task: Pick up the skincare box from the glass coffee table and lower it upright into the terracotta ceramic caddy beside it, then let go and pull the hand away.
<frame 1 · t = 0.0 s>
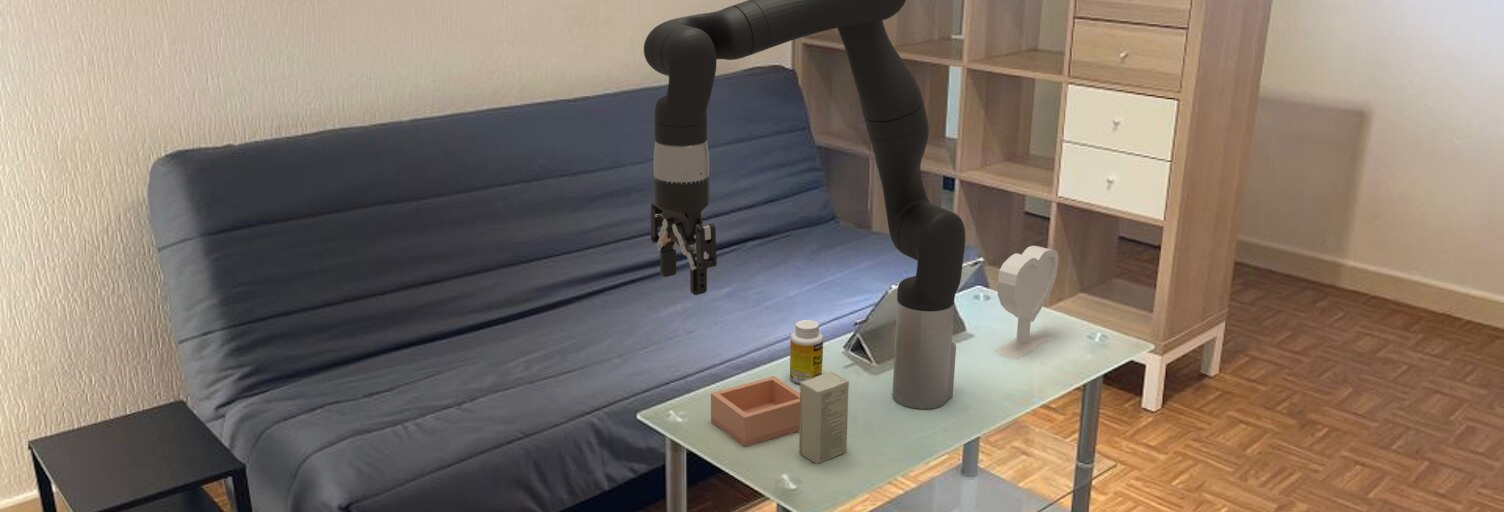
hand: (683, 284, 174), 29 cm above the table, fingers open, 8 cm apart
skincare box: (822, 454, 188), on the table
heart sculpture: (1022, 346, 227), on the table
caddy: (759, 424, 197), on the table
supplement bottle: (805, 380, 213), on the table
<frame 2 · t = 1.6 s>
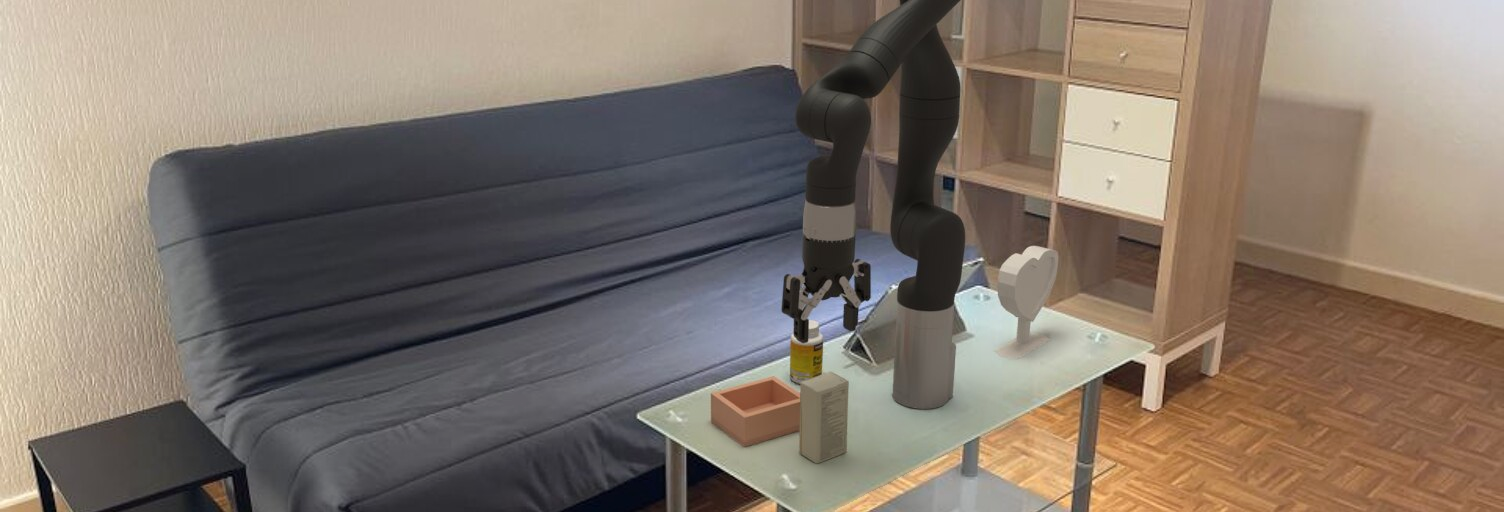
hand: (825, 335, 182), 19 cm above the table, fingers open, 8 cm apart
nothing on the table moved.
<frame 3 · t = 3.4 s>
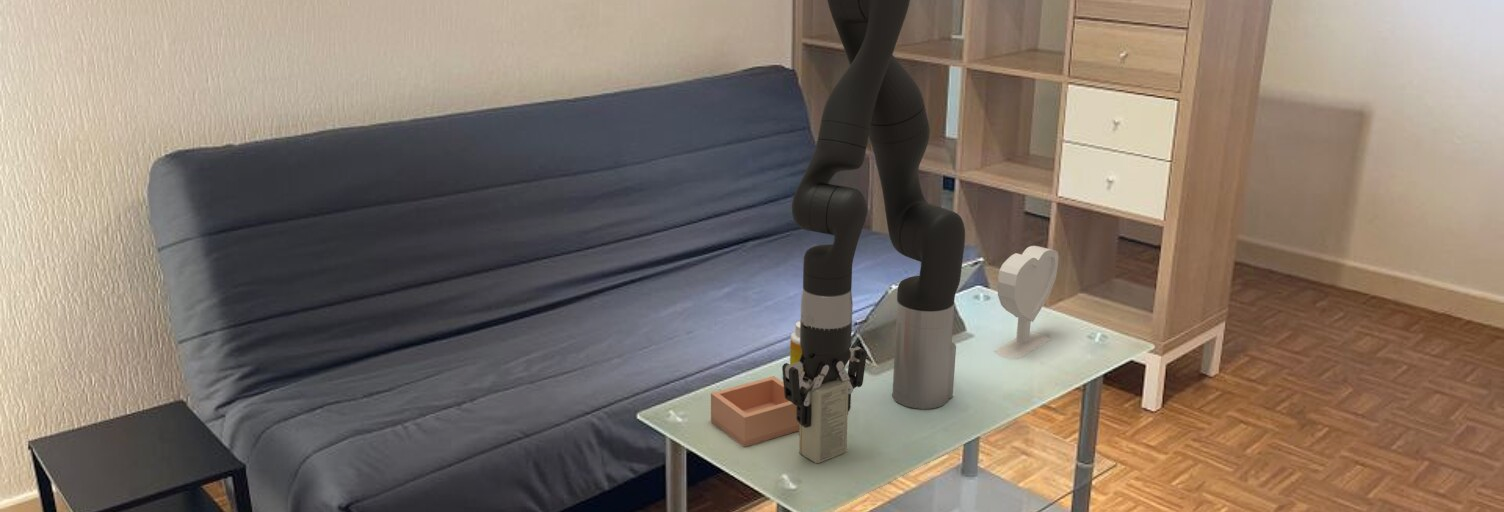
hand: (823, 419, 186), 6 cm above the table, fingers closed on skincare box, 6 cm apart
skincare box: (822, 454, 188), on the table, touching gripper
everything else where it was.
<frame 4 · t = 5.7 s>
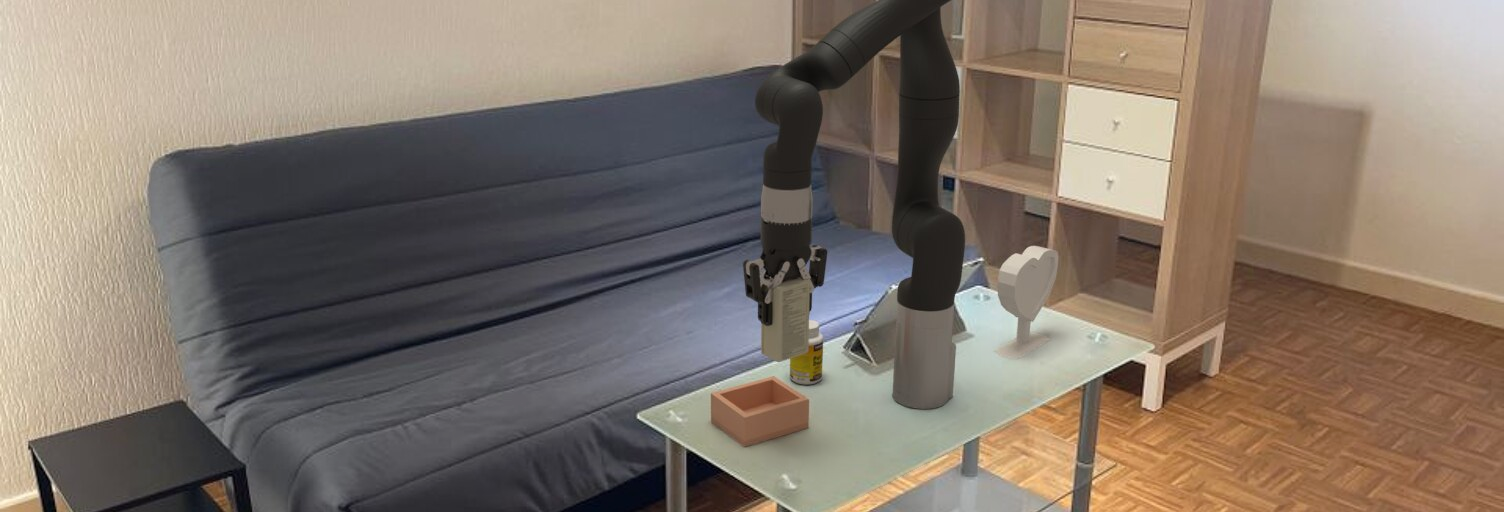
hand: (784, 318, 187), 20 cm above the table, fingers closed on skincare box, 6 cm apart
skincare box: (784, 355, 189), point 14 cm above the table, touching gripper
everything else where it was.
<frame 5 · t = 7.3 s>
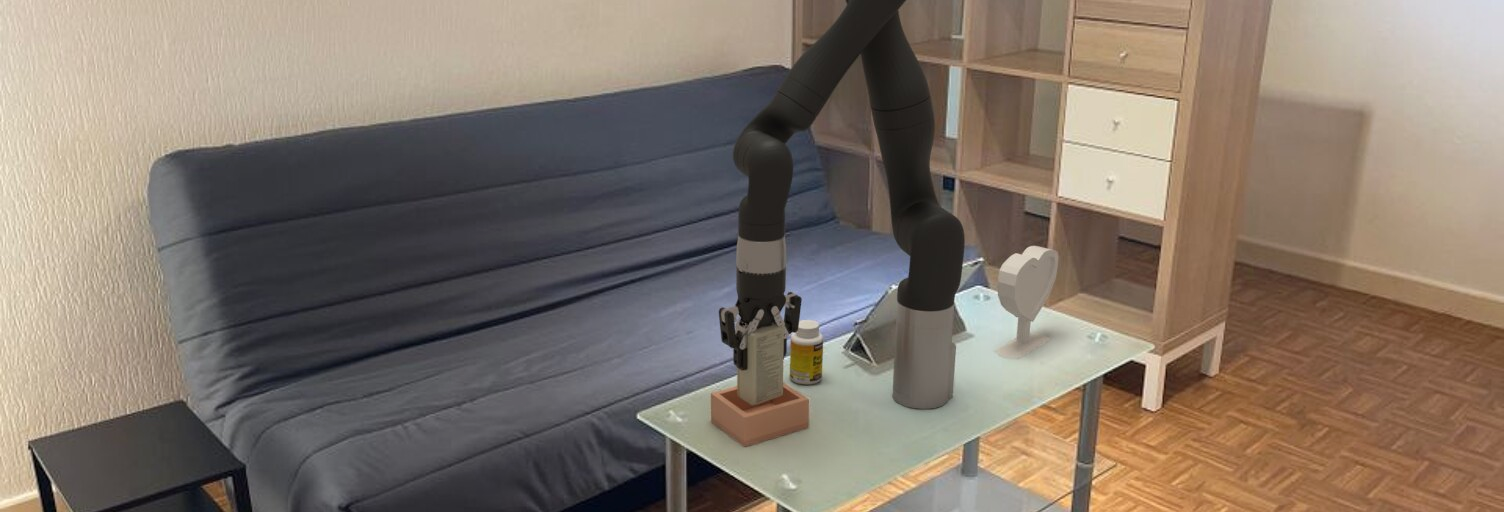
hand: (759, 363, 194), 11 cm above the table, fingers closed on skincare box, 6 cm apart
skincare box: (759, 397, 196), point 5 cm above the table, touching gripper
everything else where it was.
when the fingers open (8 cm above the table, at t = 8.3 s): skincare box drops 1 cm, resting on caddy.
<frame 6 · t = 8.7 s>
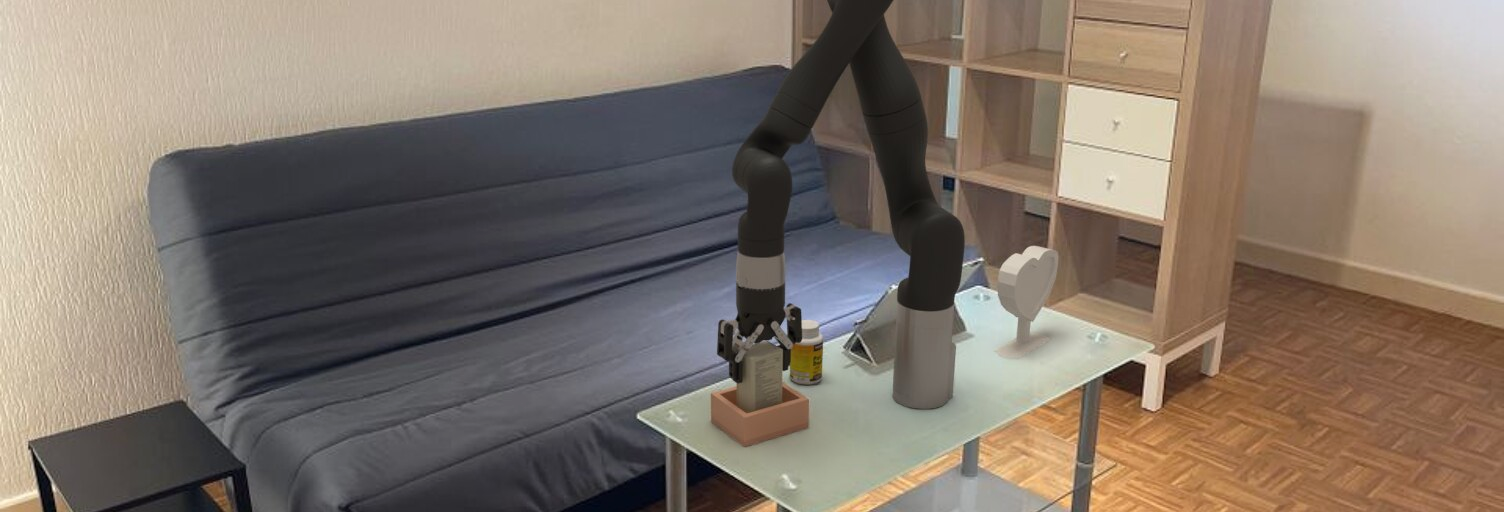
hand: (759, 375, 194), 9 cm above the table, fingers open, 8 cm apart
skincare box: (759, 420, 197), point 1 cm above the table, touching caddy
everything else where it was.
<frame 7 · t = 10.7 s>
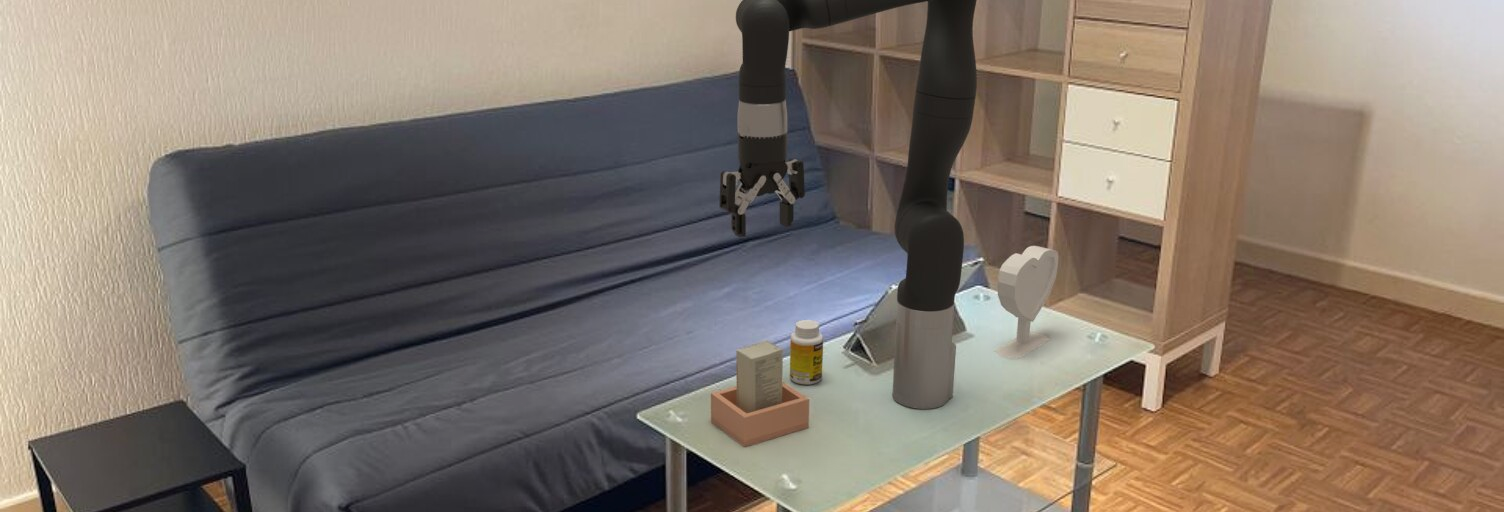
hand: (762, 230, 193), 30 cm above the table, fingers open, 8 cm apart
nothing on the table moved.
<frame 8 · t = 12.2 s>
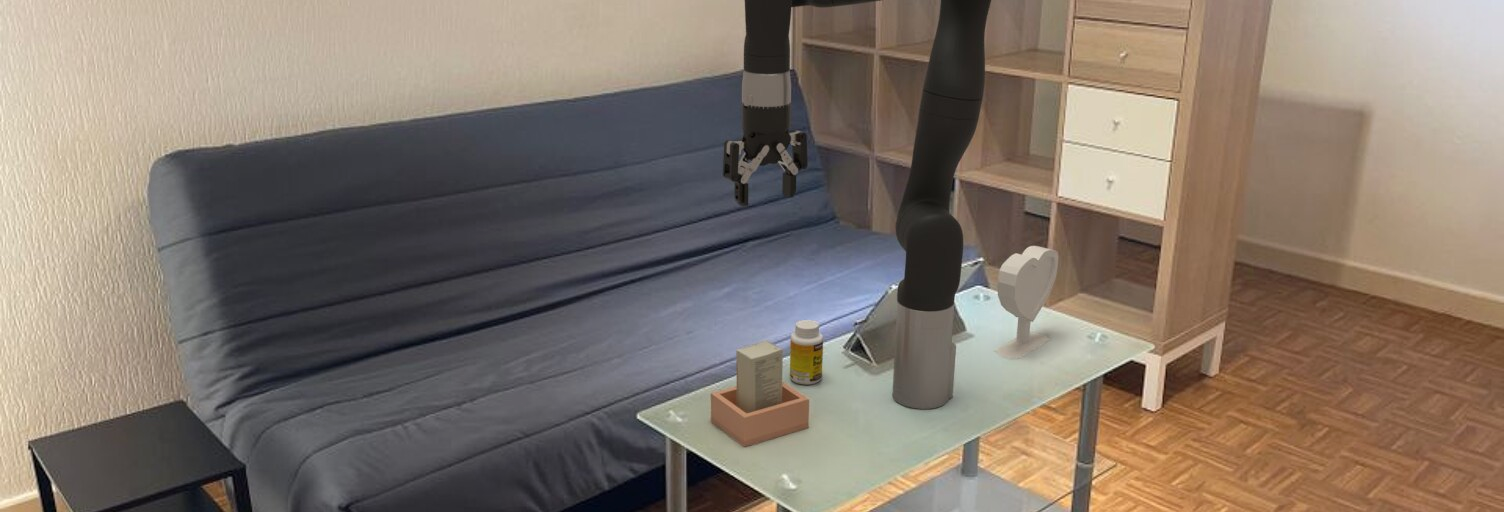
hand: (765, 200, 195), 34 cm above the table, fingers open, 8 cm apart
nothing on the table moved.
at the end: skincare box 0.1 cm off-centre on the caddy, point 0.8 cm above the caddy's base; skincare box tilted 0°; the gripper is holding nothing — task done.
